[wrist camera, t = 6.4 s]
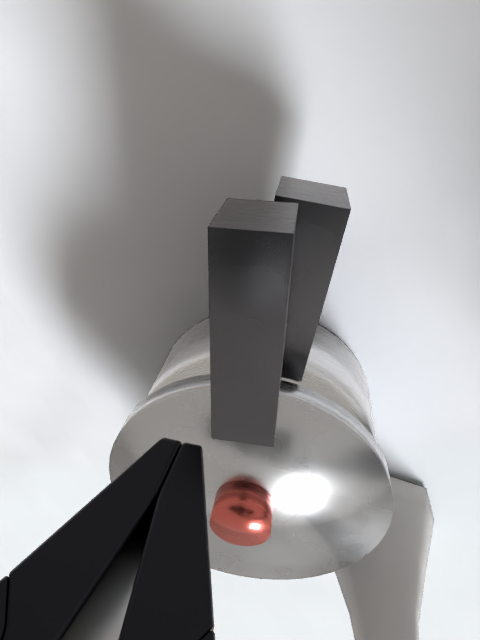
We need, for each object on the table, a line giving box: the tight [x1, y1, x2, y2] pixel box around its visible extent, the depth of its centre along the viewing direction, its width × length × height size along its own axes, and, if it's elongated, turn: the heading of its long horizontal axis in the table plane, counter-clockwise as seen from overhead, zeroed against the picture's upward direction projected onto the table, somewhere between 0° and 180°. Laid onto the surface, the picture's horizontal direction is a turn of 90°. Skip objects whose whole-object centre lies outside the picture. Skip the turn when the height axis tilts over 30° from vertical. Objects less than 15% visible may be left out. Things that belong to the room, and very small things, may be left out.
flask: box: [335, 477, 434, 640], centre depth 22 cm, size 7×7×10 cm
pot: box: [147, 176, 376, 440], centre depth 19 cm, size 20×11×5 cm, turn 173°
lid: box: [109, 198, 393, 579], centre depth 15 cm, size 18×12×2 cm, turn 179°
